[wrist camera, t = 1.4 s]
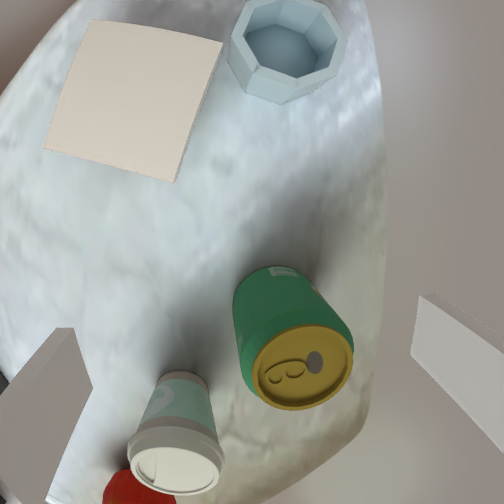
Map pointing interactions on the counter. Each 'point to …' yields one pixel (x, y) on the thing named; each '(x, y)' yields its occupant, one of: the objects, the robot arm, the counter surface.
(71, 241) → the counter surface
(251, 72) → the bowl
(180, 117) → the ceramic tile
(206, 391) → the coffee cup
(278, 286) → the beverage can
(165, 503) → the apple
